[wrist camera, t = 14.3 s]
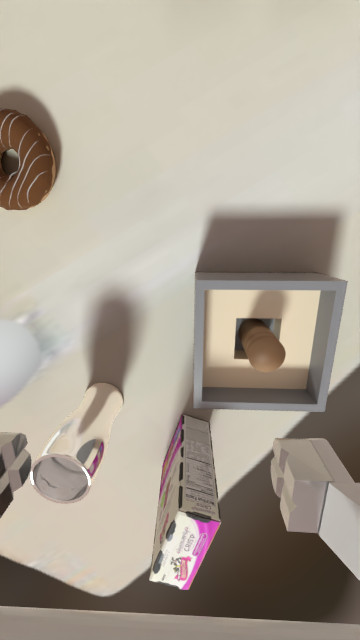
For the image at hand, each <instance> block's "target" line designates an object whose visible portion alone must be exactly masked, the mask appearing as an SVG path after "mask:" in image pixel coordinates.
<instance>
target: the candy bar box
mask: <svg viewBox="0 0 360 640" xmlns="http://www.w3.org/2000/svg"><path fill="white" fill-rule="evenodd" d="M162 467H163V468H162V477H161V486H160V494H159V503H158V512H157V520H156V529H155V538H154V546H153V555H152V564H151V573H150V579H149V580H151V581H154V582H158V583H163V584H166V585H169V586H172V587H174V586H176V587H177V588H178V589H184V590H188V589H189V588H190V586H191V583H192V581H193V579H194V577H195V575H196V572H197V570H198V568H199V567H200V565H201V562H202V560H203V558H204V556H205V554H206V552H207V550H208V548H209V546H210V544H211V542H212V540H213V538H214V536H215V534H216V531H217V530H218V528H219V526H220V524H221V520H220V510H219V501H218V492H217V484H216V475H215V468H214V459H213V450H212V440H211V431H210V423H209V422H207V421H204V420H200V419H196V418H193V417H190V416H187V415H184V414H182V416H181V419H180V422H179V424H178V427H177V429H176V432H175V435H174V437H173V440H172V443H171V445H170V448H169V450H168V453H167V456H166V458H165V461H164V463H163V466H162Z"/></svg>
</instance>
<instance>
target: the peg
mask: <svg viewBox="0 0 360 640" xmlns="http://www.w3.org/2000/svg"><path fill="white" fill-rule="evenodd" d="M238 335H239V338H240V341H241V343H242V345H243V348H244V350H245V352H246V355H247V357H248V359H249V362H250V364H251V365H252V366H253V367H254V368H255V369H256V370H258V371H262V372H270V371H274V370H276V369H277V368H279V367H280V366H281V365H282V364H283V362H284V360H285V356H286V352H285V348H284V346H283V345H282V344H281V343H280V341H279V340H278V339H277V338H276V336H275V335H274V334H273V333H272V331H271V330H270V329H269V328H268V326H267V325H266V324H265V323H264V322H263V321H262V320H260V319H257V318H250V319H247V320H245V321H244V322H243V323H242V324H241V325H240V327H239V330H238Z"/></svg>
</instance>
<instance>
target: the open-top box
mask: <svg viewBox="0 0 360 640" xmlns="http://www.w3.org/2000/svg"><path fill="white" fill-rule="evenodd" d="M347 282H348V281H345V280H341V279H338V278H334V277H330V276H327V275H323V274H320V273H287V272H195V310H194V376H193V390H194V408H197V409H235V410H273V411H311V412H324V411H325V406H326V400H327V395H328V389H329V384H330V378H331V372H332V367H333V361H334V355H335V350H336V344H337V338H338V333H339V327H340V321H341V316H342V310H343V304H344V299H345V293H346V287H347ZM250 318H257V319H260V320H262V321H263V322H264V323H265V324H266V325H267V326H268V328H269V329H270V330H271V331H272V333H273V334H274V335H275V336H276V338H277V339H278V340H279V341H280V343H281V344H282V345H283V346H284V348H285V352H286V356H285V360H284V362H283V364H282V365H281V366H280V367H279V368H277V369H276V370H274V371H270V372H262V371H258V370H256V369H255V368H254V367H253V366H252V365H251V364H250V362H249V359H248V357H247V355H246V352H245V350H244V348H243V345H242V343H241V341H240V338H239V335H238V330H239V327H240V325H241V324H242V323H243V322H244V321H245V320H247V319H250Z"/></svg>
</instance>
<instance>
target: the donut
mask: <svg viewBox="0 0 360 640" xmlns="http://www.w3.org/2000/svg"><path fill="white" fill-rule="evenodd" d="M9 149H14V150H15V151H16V152H17V153H18V156H19V169H18V171H16V172H14V173H12V174H15V173H16V174H15V175H14V176H12V174H11V175H8V174H5V173H4V171H3V170H2V166H1V157H2V154H3V152H4V151H5V150H9ZM54 180H55V159H54V155H53V152H52V149H51V146H50V144H49V142H48V140H47V138H46V137H45V135H44V134H43V133H42V131H41V130H40V129H39V128H38V127H37V126H36V125H35V124H34V123H33V122H32V120H31V119H30V118H29V117H28V116H26V115H23V114H21V113H19V112H17V111H16V110H10V109H9V110H8V109H0V207H3V208H5V209H7V210H26V209H28V208H31V207H34V206H36V205H38V204H39V203H41V202H42V201H43V200H44V199H45V198H46V197H47V196H48V194H49V192H50V191H51V189H52V186H53V184H54Z"/></svg>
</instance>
